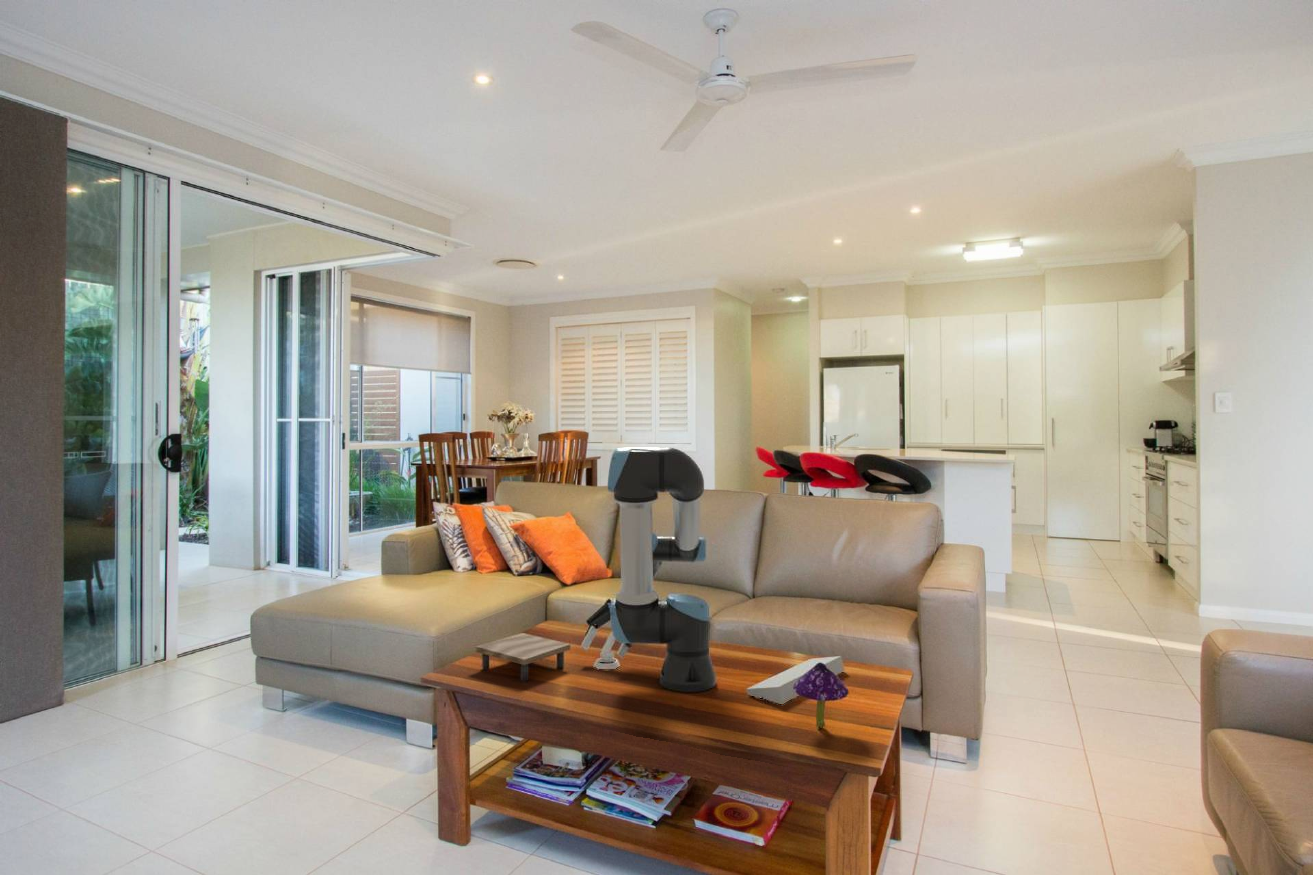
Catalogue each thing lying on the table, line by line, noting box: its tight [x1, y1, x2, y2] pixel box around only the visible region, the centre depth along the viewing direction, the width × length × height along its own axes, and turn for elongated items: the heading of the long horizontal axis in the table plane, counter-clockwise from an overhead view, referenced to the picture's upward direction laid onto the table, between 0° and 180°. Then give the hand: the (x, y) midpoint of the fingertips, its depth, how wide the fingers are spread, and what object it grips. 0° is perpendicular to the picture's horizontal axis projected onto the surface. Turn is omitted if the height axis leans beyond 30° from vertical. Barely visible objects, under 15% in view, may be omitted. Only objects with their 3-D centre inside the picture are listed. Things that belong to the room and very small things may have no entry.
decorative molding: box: [745, 655, 845, 705], centre depth 189 cm, size 34×5×10 cm
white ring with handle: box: [593, 630, 621, 670], centre depth 204 cm, size 8×12×7 cm
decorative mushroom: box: [793, 662, 850, 729], centre depth 159 cm, size 12×12×15 cm
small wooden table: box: [475, 632, 571, 682], centre depth 200 cm, size 20×18×6 cm
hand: (601, 651), depth 201 cm, fingers open, 13 cm apart
